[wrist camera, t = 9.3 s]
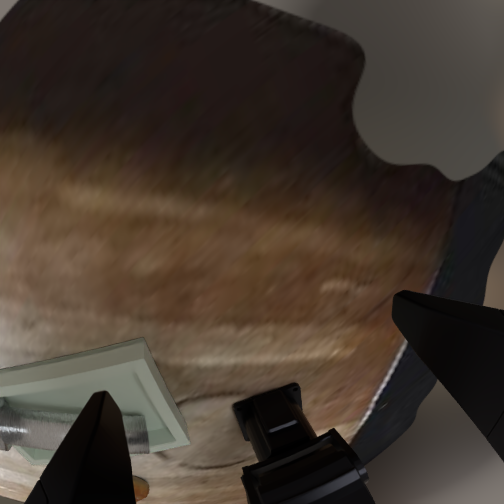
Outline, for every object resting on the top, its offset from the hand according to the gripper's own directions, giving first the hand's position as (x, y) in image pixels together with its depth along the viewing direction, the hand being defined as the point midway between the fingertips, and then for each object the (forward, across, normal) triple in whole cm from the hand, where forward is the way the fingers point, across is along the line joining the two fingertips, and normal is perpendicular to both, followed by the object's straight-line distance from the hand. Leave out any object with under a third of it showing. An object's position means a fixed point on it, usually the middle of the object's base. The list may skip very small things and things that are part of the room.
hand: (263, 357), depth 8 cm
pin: (+11, +9, +15) cm, 21 cm away
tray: (+13, +15, +12) cm, 23 cm away
